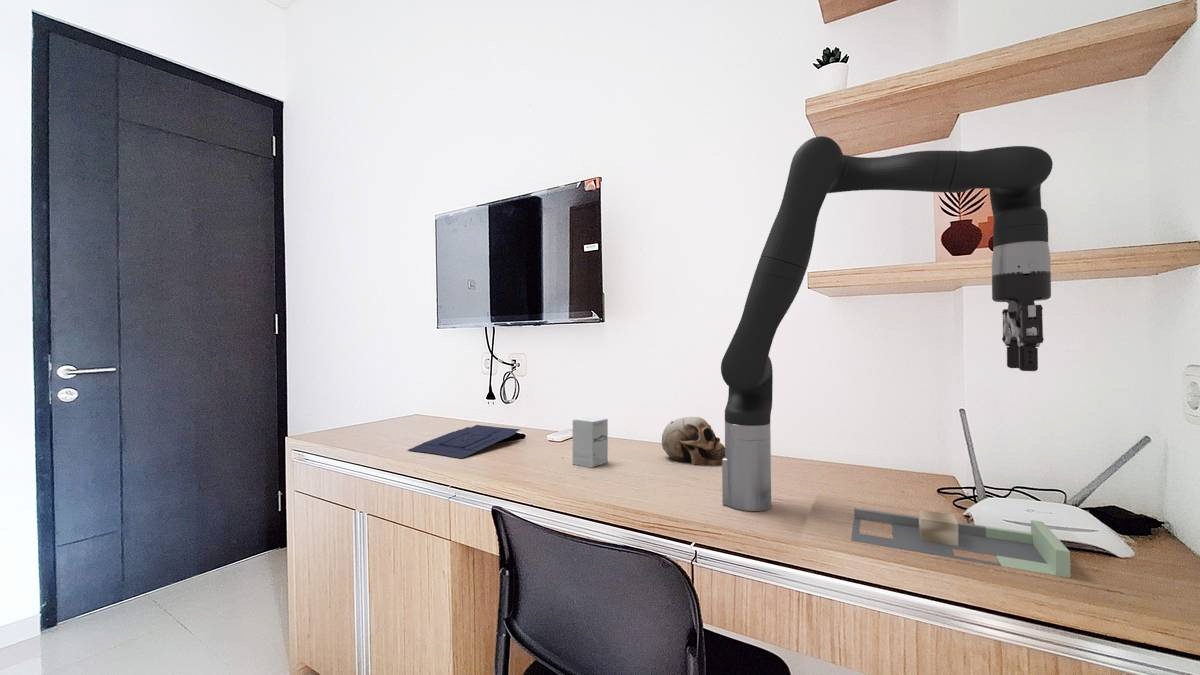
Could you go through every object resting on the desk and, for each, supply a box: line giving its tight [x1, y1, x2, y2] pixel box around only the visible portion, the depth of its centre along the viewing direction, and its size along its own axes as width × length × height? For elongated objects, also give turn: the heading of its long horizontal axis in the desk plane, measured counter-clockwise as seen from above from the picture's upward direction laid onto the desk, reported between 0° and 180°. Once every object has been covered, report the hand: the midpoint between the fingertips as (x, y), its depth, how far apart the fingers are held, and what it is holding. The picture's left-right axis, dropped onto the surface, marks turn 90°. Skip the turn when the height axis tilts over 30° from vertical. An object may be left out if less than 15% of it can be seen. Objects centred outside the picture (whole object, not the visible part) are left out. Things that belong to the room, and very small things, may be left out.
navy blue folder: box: [408, 424, 522, 459], centre depth 166 cm, size 24×30×4 cm
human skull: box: [661, 416, 725, 466], centre depth 145 cm, size 16×17×13 cm
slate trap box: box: [850, 507, 1071, 578], centre depth 81 cm, size 27×13×5 cm, turn 61°
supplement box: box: [572, 416, 609, 469], centre depth 141 cm, size 7×7×13 cm
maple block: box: [918, 509, 959, 546], centre depth 83 cm, size 5×5×4 cm
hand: (1021, 369), depth 83 cm, fingers open, 8 cm apart
